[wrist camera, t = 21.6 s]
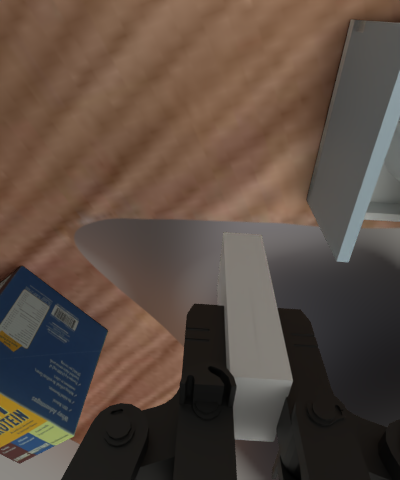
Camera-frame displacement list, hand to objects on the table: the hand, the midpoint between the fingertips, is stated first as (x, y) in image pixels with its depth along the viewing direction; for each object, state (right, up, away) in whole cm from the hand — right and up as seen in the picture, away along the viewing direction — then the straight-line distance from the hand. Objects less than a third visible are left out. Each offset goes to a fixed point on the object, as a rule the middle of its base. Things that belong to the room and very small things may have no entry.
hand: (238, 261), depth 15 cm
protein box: (-23, -10, +37) cm, 45 cm away
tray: (+19, +12, +21) cm, 30 cm away
